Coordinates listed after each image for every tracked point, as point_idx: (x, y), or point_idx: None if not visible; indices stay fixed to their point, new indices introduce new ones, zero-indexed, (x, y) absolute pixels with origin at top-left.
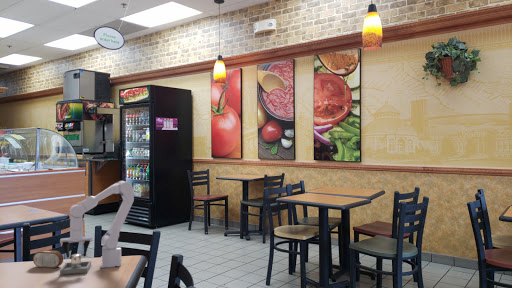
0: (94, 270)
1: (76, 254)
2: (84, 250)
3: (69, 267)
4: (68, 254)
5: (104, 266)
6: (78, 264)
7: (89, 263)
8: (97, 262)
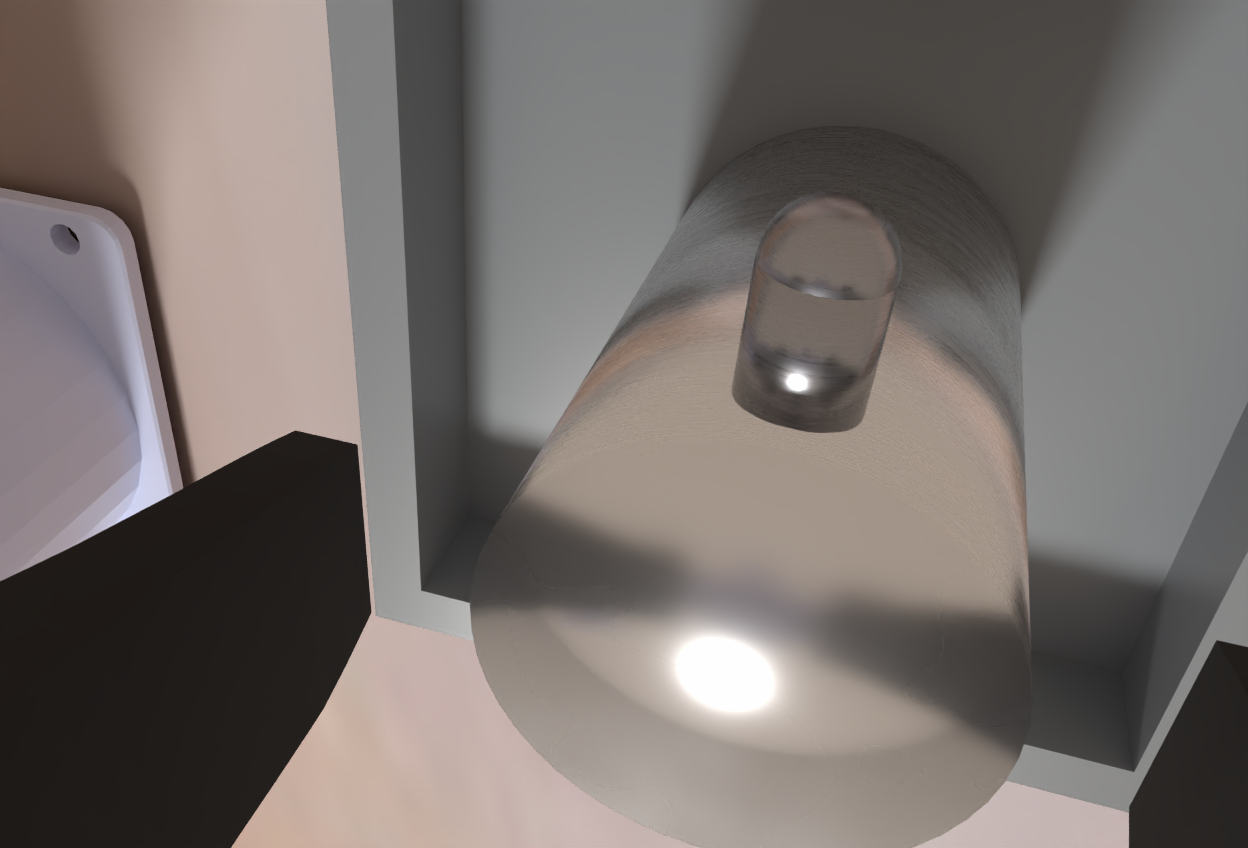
0: (244, 40)
1: (732, 785)
2: (45, 639)
3: (1053, 581)
4: (1232, 837)
5: (8, 223)
6: (703, 234)
7: (371, 404)
8: (346, 701)
